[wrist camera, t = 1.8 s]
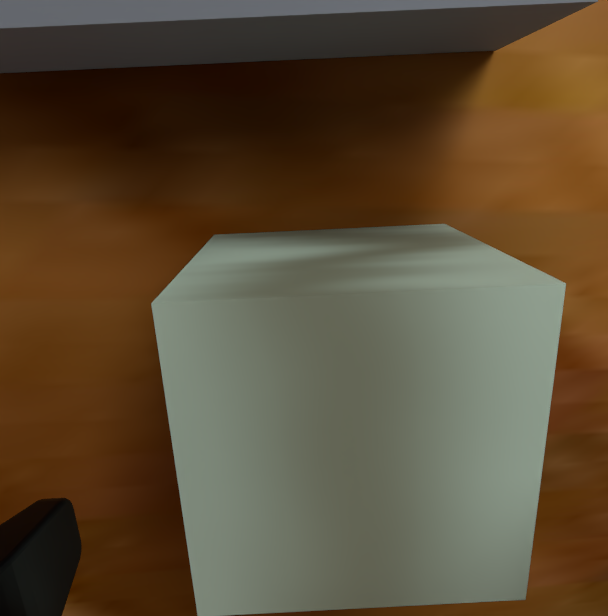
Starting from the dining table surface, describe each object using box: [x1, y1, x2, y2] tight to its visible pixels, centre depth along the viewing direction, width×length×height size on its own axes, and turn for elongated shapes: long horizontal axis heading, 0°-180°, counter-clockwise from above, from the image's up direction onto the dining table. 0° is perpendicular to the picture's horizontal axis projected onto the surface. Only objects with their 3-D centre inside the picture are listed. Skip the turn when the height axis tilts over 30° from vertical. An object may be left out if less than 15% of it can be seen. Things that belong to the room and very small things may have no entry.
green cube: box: [151, 224, 566, 616], centre depth 11 cm, size 6×6×6 cm
